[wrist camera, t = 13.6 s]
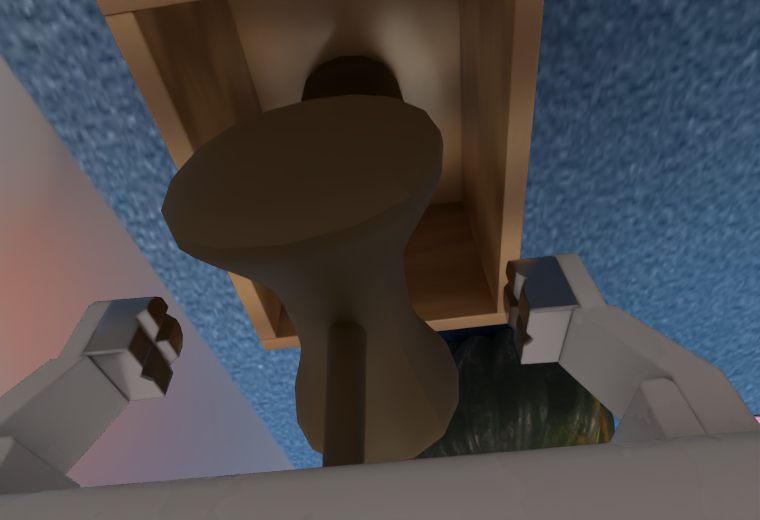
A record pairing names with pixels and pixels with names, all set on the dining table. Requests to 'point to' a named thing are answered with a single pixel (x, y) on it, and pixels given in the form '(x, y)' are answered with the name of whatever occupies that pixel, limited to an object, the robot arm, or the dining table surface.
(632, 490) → the robot arm
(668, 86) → the dining table surface
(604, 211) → the dining table surface
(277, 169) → the kendama
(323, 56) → the caddy
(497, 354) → the squash
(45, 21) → the dining table surface
